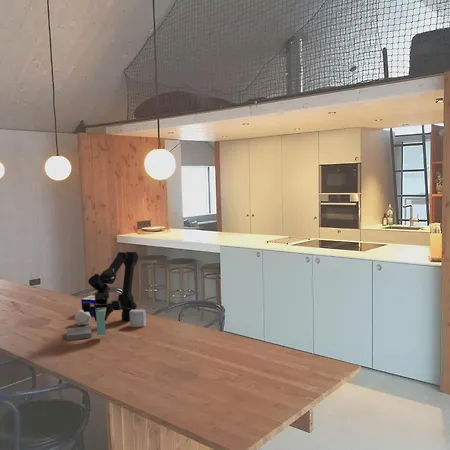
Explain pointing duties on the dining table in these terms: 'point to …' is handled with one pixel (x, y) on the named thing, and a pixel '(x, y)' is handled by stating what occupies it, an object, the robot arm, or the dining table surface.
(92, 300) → the puzzle cube
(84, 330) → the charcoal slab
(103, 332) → the teal block
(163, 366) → the dining table surface
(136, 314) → the medicine box
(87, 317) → the die
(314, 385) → the dining table surface
